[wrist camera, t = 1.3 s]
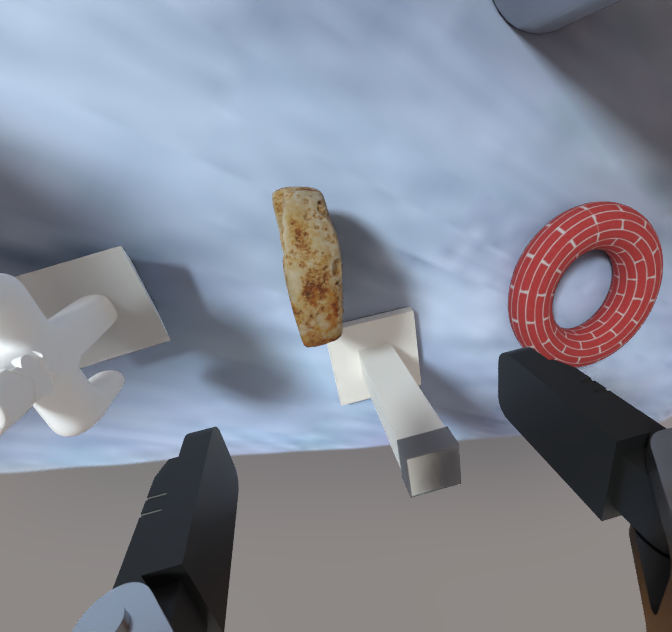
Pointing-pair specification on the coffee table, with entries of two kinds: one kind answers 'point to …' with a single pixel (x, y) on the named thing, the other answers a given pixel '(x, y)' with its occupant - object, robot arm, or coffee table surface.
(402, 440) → the post
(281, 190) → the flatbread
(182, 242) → the coffee table surface
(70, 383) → the figurine
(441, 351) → the coffee table surface
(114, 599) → the robot arm
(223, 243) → the coffee table surface
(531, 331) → the torus
